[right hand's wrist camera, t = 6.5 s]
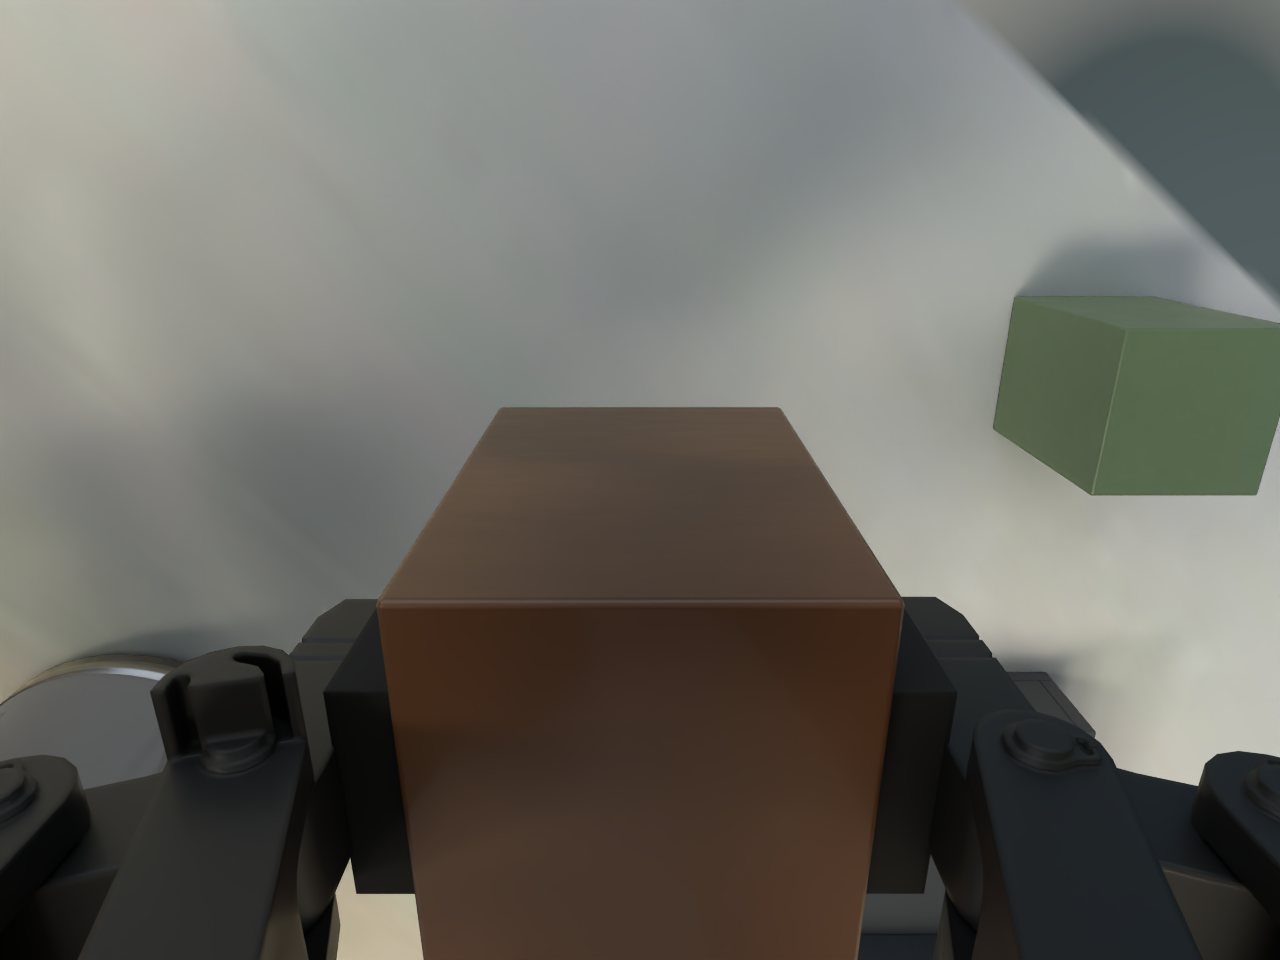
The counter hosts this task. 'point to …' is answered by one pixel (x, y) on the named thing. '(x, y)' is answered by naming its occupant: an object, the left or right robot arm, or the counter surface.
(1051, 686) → the tray
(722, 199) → the counter surface
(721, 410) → the walnut block
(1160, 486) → the sage block
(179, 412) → the counter surface
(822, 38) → the counter surface
